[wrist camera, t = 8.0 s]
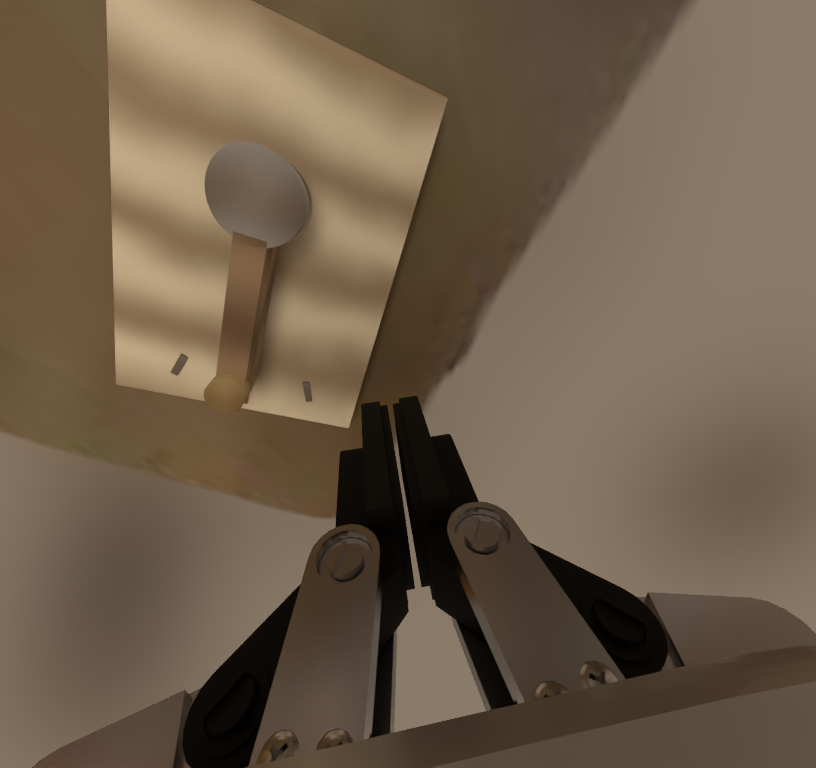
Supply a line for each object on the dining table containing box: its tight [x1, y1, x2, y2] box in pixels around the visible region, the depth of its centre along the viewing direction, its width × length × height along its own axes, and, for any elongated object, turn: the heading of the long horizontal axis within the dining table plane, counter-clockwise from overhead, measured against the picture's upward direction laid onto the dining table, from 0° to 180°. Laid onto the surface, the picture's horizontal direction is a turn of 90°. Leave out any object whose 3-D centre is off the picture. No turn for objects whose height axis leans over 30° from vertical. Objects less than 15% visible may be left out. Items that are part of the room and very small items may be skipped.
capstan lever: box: [204, 141, 312, 413], centre depth 22 cm, size 18×5×5 cm, turn 161°
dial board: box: [106, 0, 448, 428], centre depth 24 cm, size 25×18×3 cm
